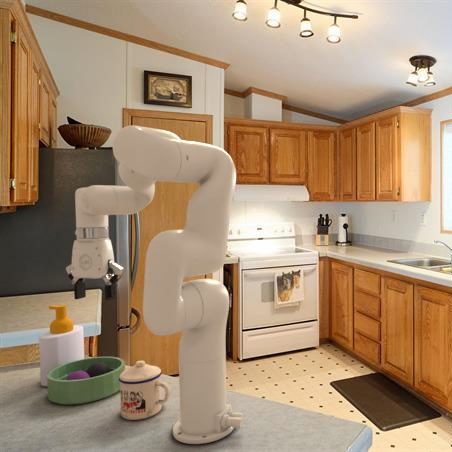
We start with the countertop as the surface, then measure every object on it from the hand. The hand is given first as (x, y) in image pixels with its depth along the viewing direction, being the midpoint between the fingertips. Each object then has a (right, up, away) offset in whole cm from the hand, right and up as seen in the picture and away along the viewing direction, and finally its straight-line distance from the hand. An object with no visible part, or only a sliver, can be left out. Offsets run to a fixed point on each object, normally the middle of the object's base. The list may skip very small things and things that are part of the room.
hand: (95, 298), depth 114 cm
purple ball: (-1, -23, -6) cm, 24 cm away
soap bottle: (-12, -24, +7) cm, 27 cm away
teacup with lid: (+20, -24, -15) cm, 35 cm away
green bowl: (0, -23, -3) cm, 24 cm away
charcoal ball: (0, -23, +1) cm, 23 cm away
